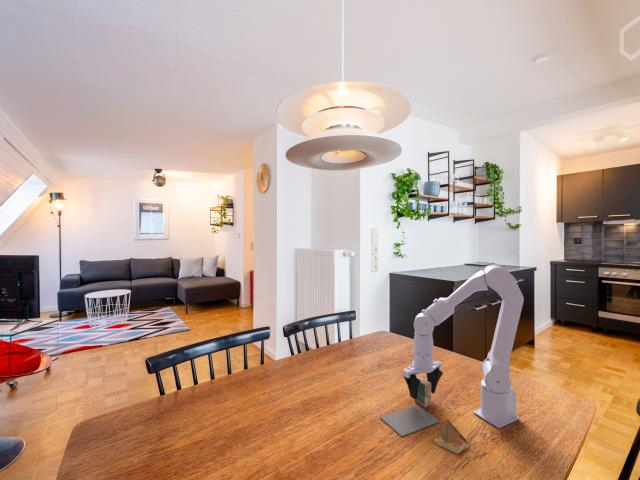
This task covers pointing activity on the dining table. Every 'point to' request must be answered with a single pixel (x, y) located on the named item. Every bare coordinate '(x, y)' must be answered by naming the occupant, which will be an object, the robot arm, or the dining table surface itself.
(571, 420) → the dining table surface
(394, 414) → the felt mat
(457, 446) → the shard
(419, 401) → the beech block
